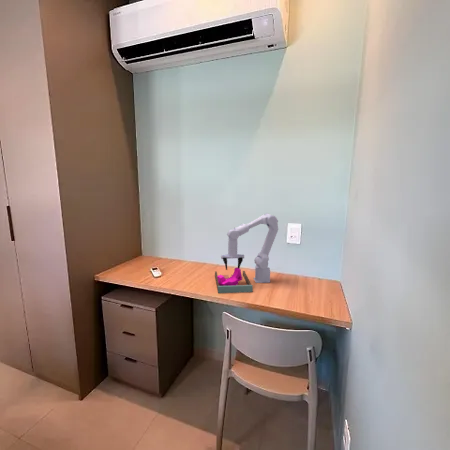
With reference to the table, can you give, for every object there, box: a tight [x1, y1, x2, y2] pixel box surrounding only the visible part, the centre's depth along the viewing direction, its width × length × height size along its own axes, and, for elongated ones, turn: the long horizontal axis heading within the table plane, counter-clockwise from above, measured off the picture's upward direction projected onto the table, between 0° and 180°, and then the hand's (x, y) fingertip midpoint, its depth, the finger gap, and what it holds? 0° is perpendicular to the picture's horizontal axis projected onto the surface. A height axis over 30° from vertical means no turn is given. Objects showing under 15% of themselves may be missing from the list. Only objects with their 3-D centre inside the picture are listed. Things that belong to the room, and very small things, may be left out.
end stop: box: [217, 284, 254, 294], centre depth 159 cm, size 20×1×4 cm, turn 96°
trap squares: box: [217, 274, 244, 279], centre depth 183 cm, size 16×6×1 cm, turn 96°
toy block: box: [217, 267, 243, 286], centre depth 166 cm, size 15×6×8 cm, turn 123°
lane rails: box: [214, 270, 252, 291], centre depth 173 cm, size 20×26×3 cm
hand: (232, 269), depth 171 cm, fingers open, 7 cm apart
